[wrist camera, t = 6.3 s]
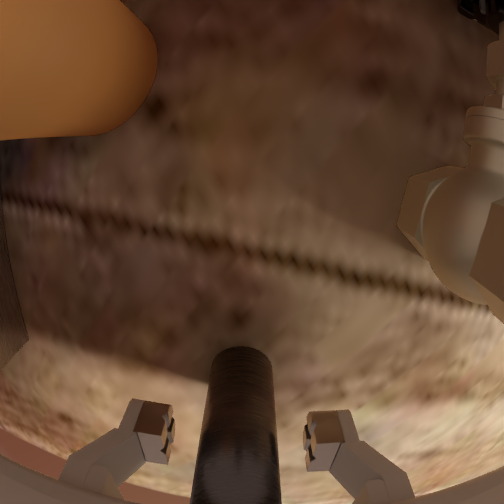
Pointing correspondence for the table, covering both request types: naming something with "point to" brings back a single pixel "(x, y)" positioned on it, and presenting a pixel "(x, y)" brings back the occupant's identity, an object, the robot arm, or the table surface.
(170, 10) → the table surface
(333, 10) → the table surface
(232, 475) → the cylinder
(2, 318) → the bore block
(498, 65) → the valve
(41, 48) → the orange rounded tapered piece
